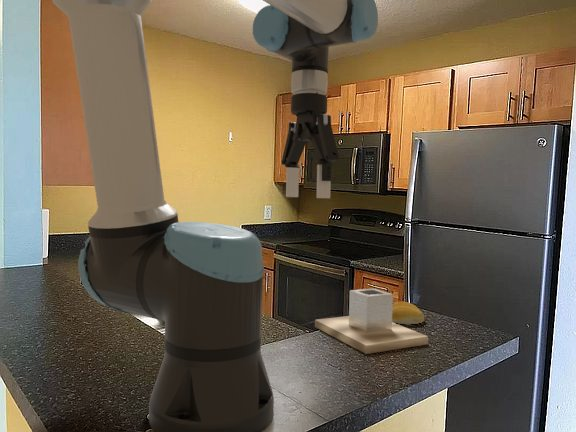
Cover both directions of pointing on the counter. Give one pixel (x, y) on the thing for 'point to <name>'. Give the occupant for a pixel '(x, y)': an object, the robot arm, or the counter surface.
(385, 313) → the hollow square tube
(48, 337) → the counter surface
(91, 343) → the counter surface
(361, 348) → the block
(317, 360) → the counter surface
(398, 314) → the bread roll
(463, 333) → the counter surface
